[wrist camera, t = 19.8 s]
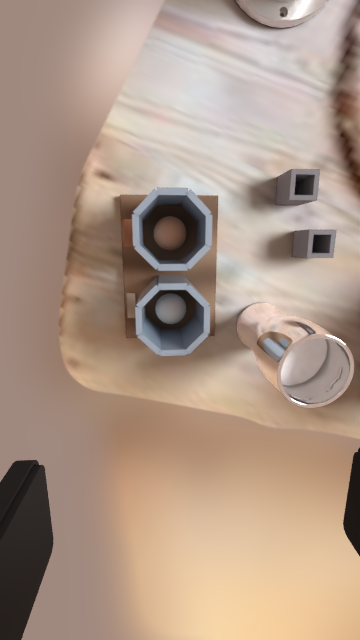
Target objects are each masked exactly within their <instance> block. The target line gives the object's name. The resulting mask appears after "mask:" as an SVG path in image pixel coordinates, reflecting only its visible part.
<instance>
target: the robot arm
mask: <svg viewBox="0 0 360 640" xmlns="http://www.w3.org/2000/svg"><path fill="white" fill-rule="evenodd" d="M328 1H329V0H236V2H237V3H238V5H239V6H240V7H241V9H243V10H244V11H245V12H246V13H247V14H248V15H249V16H250V17H251V18H253V19H255V20H256V21H258V22H259V23H262V24H265V25H268V26H271V27H279V28H285V27H292V26H296V25H299V24H301V23H304V22H306V21H307V20H309V19H311V18H312V17H314V16H315V15H316V14H317V13H318V12H319V11H321V10H322V9H323V8H324V7H325V5H326V4H327V3H328ZM343 525H344V530H345V533H346V535H347V537H348V539H349V540H350V542H351V543H352V545H353V547H354V548H355V550H356V551H357V553H358V554H359V556H360V448H359V449H358V452H356V453H355V454H354V456H353V463H352V469H351V476H350V482H349V489H348V495H347V502H346V508H345V514H344V522H343ZM52 548H53V532H52V525H51V517H50V508H49V500H48V491H47V484H46V476H45V468H44V466H43V465H39V463H38V461H37V460H26V461H25V460H24V461H16V462H14V463H13V464H12V466H11V467H10V469H9V470H8V472H7V473H6V475H5V476H4V478H3V479H2V481H1V482H0V640H21V639H22V635H23V633H24V630H25V627H26V624H27V621H28V619H29V616H30V613H31V610H32V607H33V604H34V601H35V599H36V596H37V593H38V590H39V587H40V584H41V582H42V579H43V576H44V573H45V570H46V567H47V564H48V562H49V559H50V556H51V553H52Z"/></svg>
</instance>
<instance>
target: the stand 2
mask: <svg viewBox="0 0 360 640" xmlns="http://www.w3.org/2000/svg"><path fill="white" fill-rule="evenodd" d="M313 235H314V239H313ZM335 238H336V230H301V231H294V238H293V250H292V257H302V258H333V255H334V246H335ZM312 246H313V249H312Z"/></svg>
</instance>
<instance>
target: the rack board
mask: <svg viewBox="0 0 360 640" xmlns="http://www.w3.org/2000/svg"><path fill="white" fill-rule="evenodd" d="M147 196H148V195H120V204H121V227H122V250H123V273H124V296H125V319H126V338H138V337H137V335H136V315H135V307H136V304H137V301H138V299H139V296H140V294H141V292H142V291H143V290H144V289H145V288H146V287H147V286H148V285H149V284H150V282H151V281H152V280H153V279H154V278H155V277H156V276H158V277H159V275H182V276H184V277H185V278H186V279H187V280H188V281H189V282H190V283H191V284H192V285H193V286H194V287H195V288H196V289H197V290H198V291H199V292H200V293H201V294H202V296H203V297H204V298H205V299H206V301H207V302H208V303H209V305H210V334H208V335H209V336H214V329H215V293H216V256H217V220H218V196H197V197H198V198H199V199H200V200H201V201H202V202H203V203H204V205H205V206H206V207H207V208H208V209H209V210H210V211H211V213H210V214H209V215H212V246H209V247H210V248H211V249H210V250H209V251H208V252H207V253H206V254H205V255H204V256H203V257H202V258H201V259H200V260H199V261H198V262H197V263H196V264H195V265H194V266H193V267H192V268H191V269H188V271H158V268H157V269H155V268H154V267H153V266H152V265H151V264H149V263H148V262H147V261H146V260H145V259H144V258H143V257H142V256H141V255H140V254H139V253H138V252H137V251H136V250H135V249H134V248H135V247H136V246H133V229H132V214H134V213H133V211H134V210H135V209H136V208H137V207H138V206H139V205H140V204H141V203H142V201H143V200H144V199H145V198H146V197H147ZM167 216H172V217H176V218H178V219H179V220H181V221H182V223H183V224H184V226H185V228H186V239H185V241H184V243H183V244H182V245H181V246H180V247H179V248H177V249H175V250H165V249H163V248H161V247H160V246H159V245H158V244H157V243H156V241H155V239H154V227H155V225H156V223H157V222H158V221H159V220H160V219H162V218H164V217H167ZM143 223H144V245H145V246H146V247H147V248H148V249H149V250H150V251H151V252H152V253H153V254H154V255H155V256H156V257H157V258H158V259H159V260H181V259H182V258H183V257H184V256H185V255H186V254H187V253H188V252H189V251H190V250H191V249H192V248H193V246H194V245H195V244H196V222H195V221H194V219H193V218H192V217H191V216H190V215H189V214H188V213H187V212H186V211H185V210H184V209H183V208H182V207H181V206H158V207H157V208H156V209H155V210H154V211H153V212H152V213H151V214H150V215H149V216H148V218H147V219H146V220H145V221H144V222H143ZM168 293H174V294H177V295H179V296H180V297H182V299H183V300H184V301H185V304H186V313H185V316H184V317H183V319H182V320H181V321H179V322H178V323H175V324H167V323H164V322H162V321H161V320H160V319H159V318H158V317H157V315H156V311H155V306H156V303H157V301H158V299H159V298H160V297H161V296H163V295H164V294H168ZM194 315H195V298H194V297H193V296H192V295H191V294H190V293H189V292H188V291H187V290H159V291H158V292H157V293H156V294H155V295H154V296H153V297H152V298H151V299H150V300H149V301H148V302H147V303H146V316H148V317H149V318H150V319H151V320H152V321H153V322H154V323H155V324H156V325H157V326H158V327H159V328H160V329H171V328H181V327H182V326H183V325H185V324H186V323H187V322H188V321H189V320H190V319H191V318H192V317H193V316H194Z"/></svg>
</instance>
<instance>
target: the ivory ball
mask: <svg viewBox="0 0 360 640" xmlns="http://www.w3.org/2000/svg"><path fill="white" fill-rule="evenodd" d="M155 311H156V315H157V317H158V318H159V319H160V320H161V321H162V322H164V323H167V324H175V323H178V322H179V321H181V320H182V319H183V317H184V316H185V313H186V304H185V301H184V300H183V299H182V297H180V296H179V295H177V294H174V293H168V294H164V295H163V296H161V297H160V298H159V299H158V301H157V303H156V306H155Z"/></svg>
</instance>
